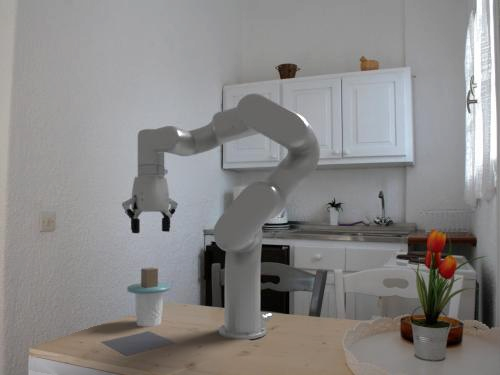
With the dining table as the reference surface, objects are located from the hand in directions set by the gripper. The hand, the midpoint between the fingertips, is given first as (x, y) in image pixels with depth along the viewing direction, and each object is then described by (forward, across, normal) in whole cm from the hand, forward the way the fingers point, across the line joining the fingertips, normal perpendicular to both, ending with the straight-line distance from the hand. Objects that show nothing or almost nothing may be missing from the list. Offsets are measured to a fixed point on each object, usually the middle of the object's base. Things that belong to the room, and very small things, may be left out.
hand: (151, 232), depth 120 cm
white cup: (+26, 0, -1) cm, 26 cm away
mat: (+26, +11, +13) cm, 31 cm away
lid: (+16, 0, 0) cm, 16 cm away
